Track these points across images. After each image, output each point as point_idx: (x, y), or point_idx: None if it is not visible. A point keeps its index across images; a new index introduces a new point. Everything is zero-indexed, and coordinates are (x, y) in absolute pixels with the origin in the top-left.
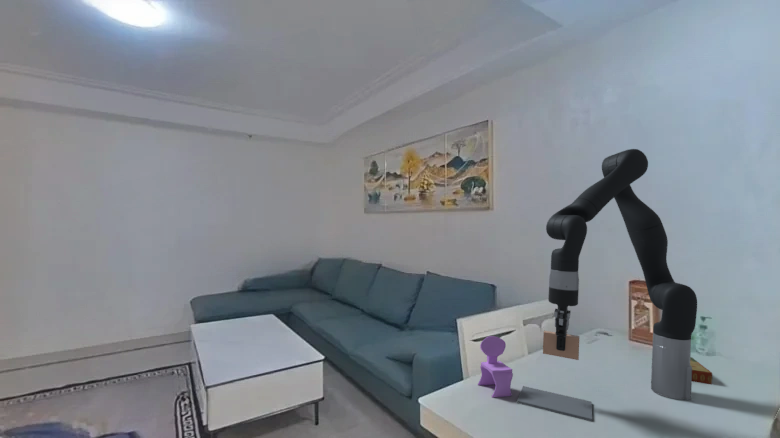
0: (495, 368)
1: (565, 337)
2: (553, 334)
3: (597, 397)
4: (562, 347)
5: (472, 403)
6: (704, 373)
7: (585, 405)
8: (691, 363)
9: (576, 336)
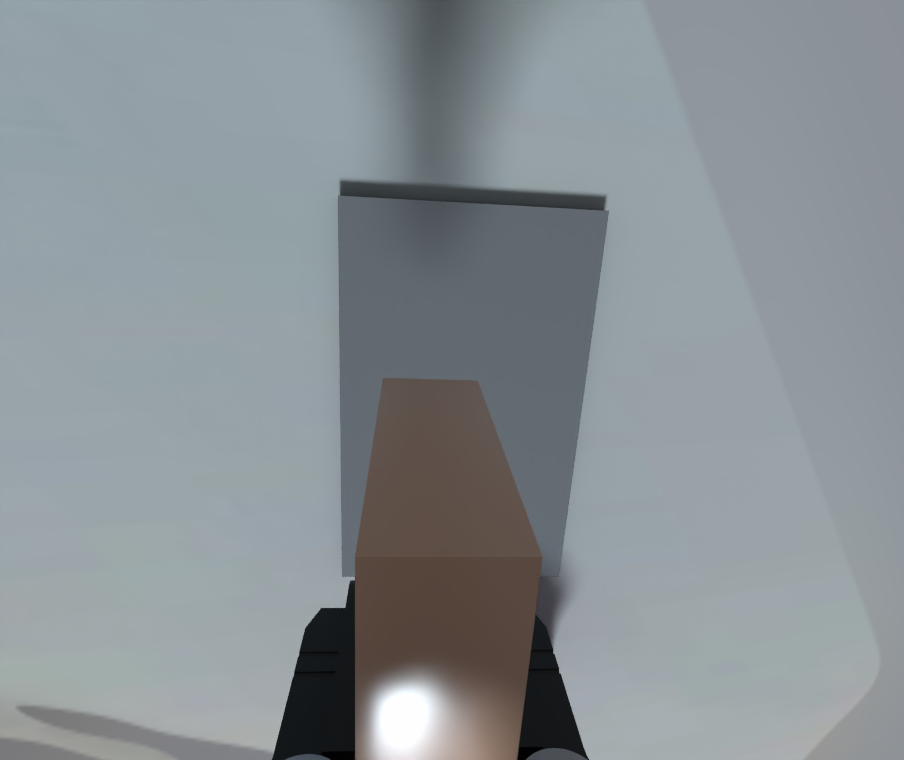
0: None
1: (567, 757)
2: None
3: (193, 143)
4: (545, 637)
5: (651, 714)
6: None
7: (429, 238)
8: None
9: (442, 612)
